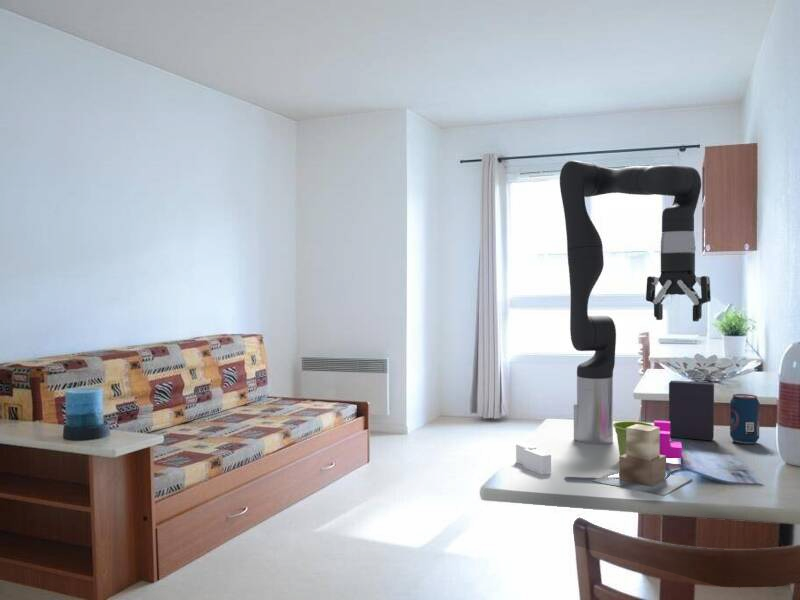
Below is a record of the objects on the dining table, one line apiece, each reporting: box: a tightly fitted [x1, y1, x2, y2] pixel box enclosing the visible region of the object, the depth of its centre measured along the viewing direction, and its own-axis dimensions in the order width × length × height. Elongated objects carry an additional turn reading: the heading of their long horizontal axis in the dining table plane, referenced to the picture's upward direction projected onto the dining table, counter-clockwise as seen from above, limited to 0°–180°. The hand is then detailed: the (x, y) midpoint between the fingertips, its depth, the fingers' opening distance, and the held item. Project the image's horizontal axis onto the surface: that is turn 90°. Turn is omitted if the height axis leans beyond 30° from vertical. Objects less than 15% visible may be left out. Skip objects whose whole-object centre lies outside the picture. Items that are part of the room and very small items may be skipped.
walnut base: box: [592, 454, 693, 497], centre depth 147 cm, size 15×15×6 cm
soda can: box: [729, 393, 761, 444], centre depth 184 cm, size 7×7×12 cm
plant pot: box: [613, 420, 655, 456], centre depth 164 cm, size 9×9×9 cm
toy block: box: [653, 420, 683, 458], centre depth 168 cm, size 15×6×8 cm, turn 159°
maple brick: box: [626, 424, 660, 460], centre depth 146 cm, size 5×5×6 cm
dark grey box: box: [668, 380, 715, 441], centre depth 189 cm, size 11×4×15 cm, turn 63°
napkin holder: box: [515, 442, 552, 475], centre depth 158 cm, size 15×11×6 cm
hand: (677, 320), depth 165 cm, fingers open, 8 cm apart
